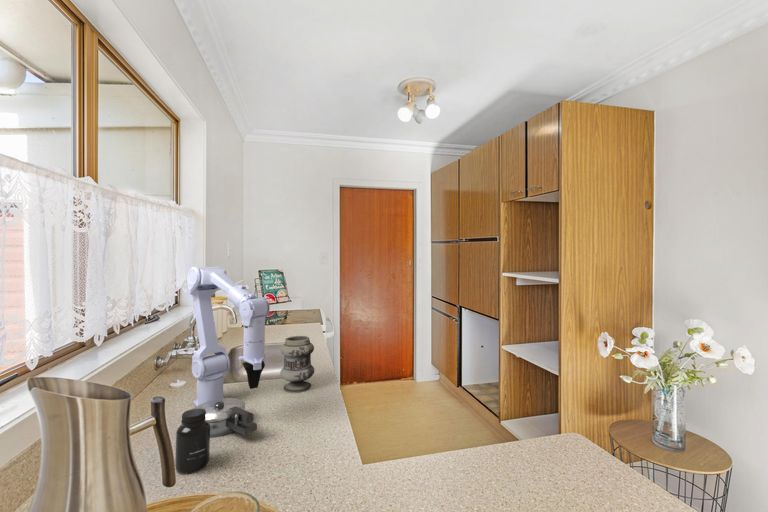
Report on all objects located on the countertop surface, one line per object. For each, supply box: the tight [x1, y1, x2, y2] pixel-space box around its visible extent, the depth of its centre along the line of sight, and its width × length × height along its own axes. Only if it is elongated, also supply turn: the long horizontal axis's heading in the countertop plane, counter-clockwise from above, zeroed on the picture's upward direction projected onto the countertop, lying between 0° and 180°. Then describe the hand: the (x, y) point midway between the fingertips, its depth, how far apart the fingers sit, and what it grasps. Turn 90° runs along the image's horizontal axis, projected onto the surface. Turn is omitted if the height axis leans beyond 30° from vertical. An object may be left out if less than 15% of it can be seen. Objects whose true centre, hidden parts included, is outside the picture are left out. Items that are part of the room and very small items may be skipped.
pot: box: [209, 414, 258, 438], centre depth 96 cm, size 21×13×7 cm, turn 56°
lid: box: [193, 397, 254, 424], centre depth 96 cm, size 21×14×2 cm, turn 55°
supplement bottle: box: [174, 408, 211, 475], centre depth 79 cm, size 7×7×12 cm
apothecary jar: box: [279, 335, 315, 394], centre depth 127 cm, size 12×12×18 cm
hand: (253, 387), depth 100 cm, fingers closed
